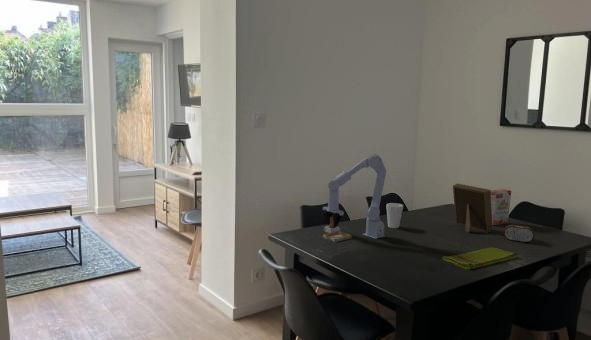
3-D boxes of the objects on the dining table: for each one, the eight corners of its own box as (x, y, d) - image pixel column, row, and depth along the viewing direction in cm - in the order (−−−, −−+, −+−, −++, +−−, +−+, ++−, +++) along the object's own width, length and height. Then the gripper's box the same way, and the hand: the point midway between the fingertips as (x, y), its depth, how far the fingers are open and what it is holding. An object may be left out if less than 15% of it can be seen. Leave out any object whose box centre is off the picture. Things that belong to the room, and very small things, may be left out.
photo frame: (460, 222, 288) (463, 182, 284) (492, 231, 270) (496, 188, 266) (444, 226, 280) (447, 184, 276) (476, 235, 262) (480, 191, 258)
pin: (336, 231, 260) (336, 217, 259) (332, 232, 258) (332, 218, 257) (332, 230, 263) (332, 216, 261) (328, 231, 261) (328, 217, 260)
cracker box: (493, 226, 282) (496, 192, 279) (485, 223, 287) (488, 190, 284) (508, 223, 289) (512, 190, 286) (500, 221, 294) (503, 188, 291)
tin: (533, 242, 252) (535, 227, 250) (533, 244, 249) (535, 228, 248) (503, 238, 258) (504, 223, 257) (502, 239, 255) (504, 224, 254)
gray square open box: (340, 232, 260) (340, 227, 260) (332, 234, 256) (332, 229, 256) (332, 230, 265) (332, 224, 265) (324, 231, 261) (324, 226, 261)
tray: (351, 238, 249) (352, 235, 249) (335, 242, 242) (335, 239, 241) (338, 234, 257) (338, 230, 256) (322, 238, 249) (322, 234, 249)
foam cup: (400, 225, 279) (402, 203, 277) (402, 229, 270) (404, 207, 268) (384, 224, 280) (385, 202, 278) (386, 228, 271) (387, 206, 269)
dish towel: (440, 260, 221) (441, 254, 220) (490, 249, 239) (491, 243, 239) (467, 271, 208) (468, 264, 207) (518, 259, 226) (518, 252, 225)
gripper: (319, 199, 261) (318, 223, 263) (337, 204, 250) (336, 229, 252) (328, 198, 265) (327, 221, 267) (346, 203, 254) (345, 227, 256)
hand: (332, 225), depth 260 cm, fingers open, 5 cm apart
